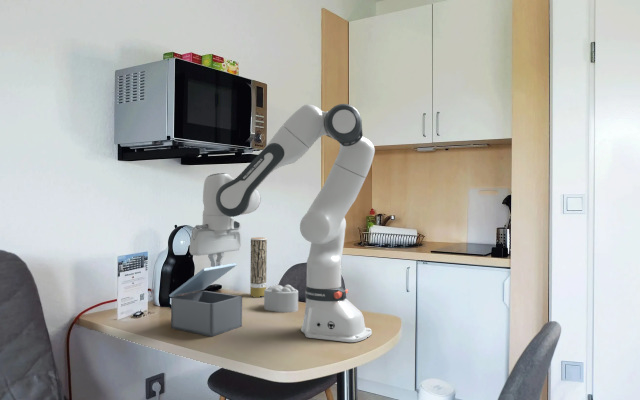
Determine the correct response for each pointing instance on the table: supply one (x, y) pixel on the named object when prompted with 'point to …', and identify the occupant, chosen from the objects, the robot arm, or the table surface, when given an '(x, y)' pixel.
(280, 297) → the lumpy-topped squat cylinder
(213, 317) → the box
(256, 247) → the paper tube
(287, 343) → the table surface
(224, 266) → the lid
